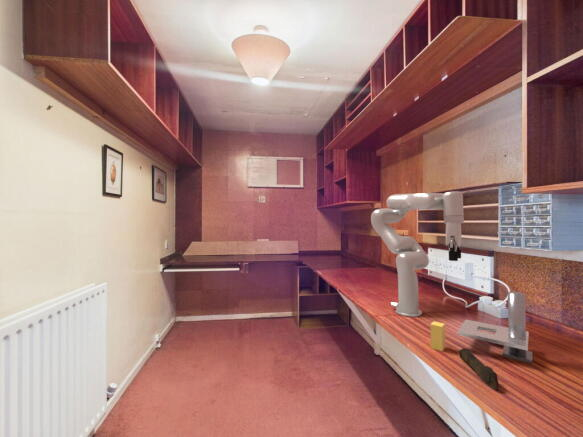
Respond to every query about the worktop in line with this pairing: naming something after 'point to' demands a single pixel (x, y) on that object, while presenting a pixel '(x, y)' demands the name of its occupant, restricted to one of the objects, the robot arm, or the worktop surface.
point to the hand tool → (480, 368)
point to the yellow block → (437, 336)
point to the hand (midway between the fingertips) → (455, 259)
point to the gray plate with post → (505, 330)
